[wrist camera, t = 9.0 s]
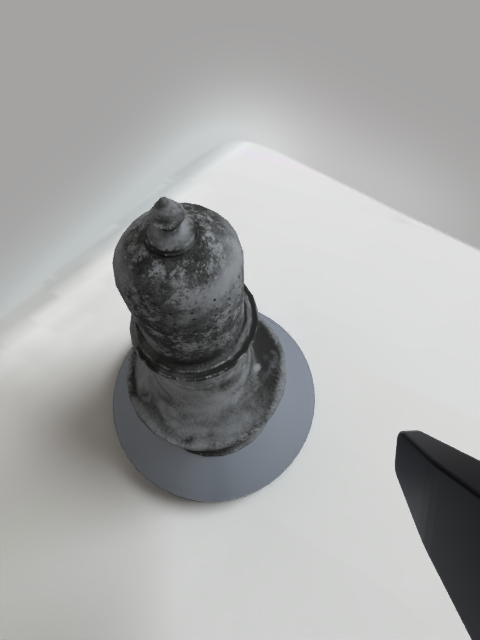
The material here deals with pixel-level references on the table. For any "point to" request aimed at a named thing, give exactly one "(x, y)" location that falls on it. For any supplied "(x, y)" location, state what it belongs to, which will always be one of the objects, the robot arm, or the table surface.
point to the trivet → (232, 469)
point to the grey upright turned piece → (196, 332)
